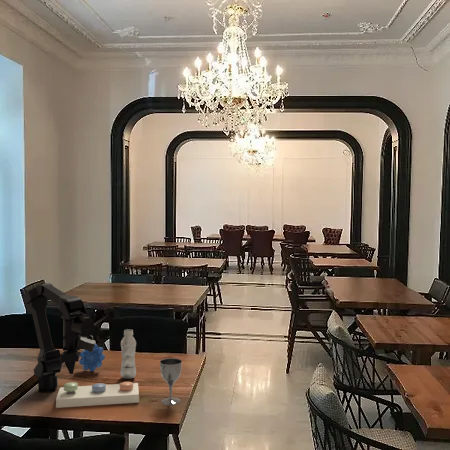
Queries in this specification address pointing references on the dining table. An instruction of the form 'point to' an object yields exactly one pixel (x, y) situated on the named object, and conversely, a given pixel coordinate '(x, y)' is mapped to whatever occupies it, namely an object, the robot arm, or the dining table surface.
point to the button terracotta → (126, 386)
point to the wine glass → (170, 376)
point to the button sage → (70, 387)
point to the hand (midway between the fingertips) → (71, 373)
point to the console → (97, 396)
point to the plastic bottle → (128, 355)
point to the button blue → (98, 387)
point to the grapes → (92, 358)
